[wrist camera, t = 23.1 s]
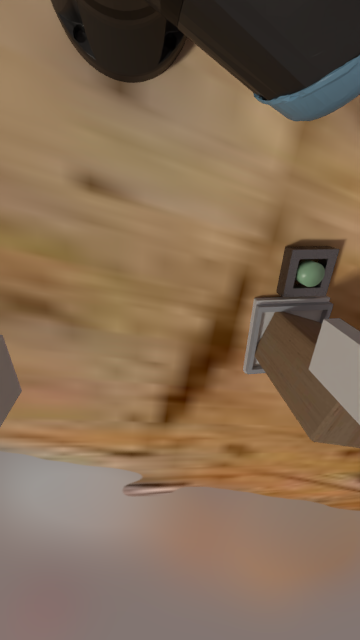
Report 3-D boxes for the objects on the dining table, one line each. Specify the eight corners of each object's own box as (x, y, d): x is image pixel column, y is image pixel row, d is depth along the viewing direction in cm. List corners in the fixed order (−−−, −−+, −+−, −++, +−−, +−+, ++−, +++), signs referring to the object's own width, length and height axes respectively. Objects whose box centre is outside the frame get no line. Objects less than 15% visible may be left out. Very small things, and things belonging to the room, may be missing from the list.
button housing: (285, 246, 43) (292, 249, 40) (329, 246, 44) (339, 249, 41) (276, 292, 46) (282, 297, 44) (317, 290, 47) (325, 295, 45)
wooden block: (319, 321, 49) (420, 396, 31) (293, 363, 53) (369, 451, 35) (275, 308, 46) (357, 382, 29) (251, 353, 50) (310, 442, 33)
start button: (296, 259, 43) (304, 263, 41) (318, 259, 43) (327, 263, 41) (291, 282, 45) (298, 287, 43) (312, 282, 45) (321, 286, 43)
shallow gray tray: (254, 298, 46) (259, 303, 44) (326, 295, 48) (334, 300, 46) (243, 369, 53) (247, 377, 51) (305, 365, 55) (312, 372, 53)
